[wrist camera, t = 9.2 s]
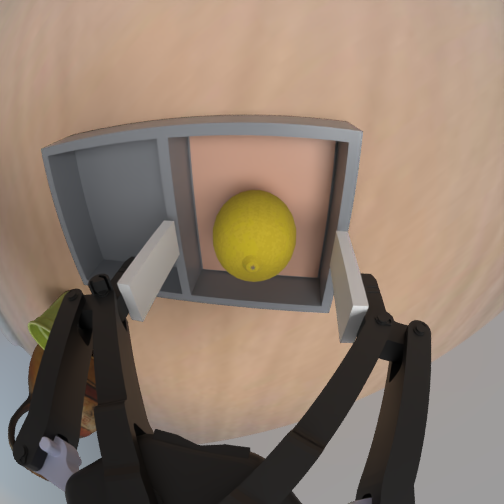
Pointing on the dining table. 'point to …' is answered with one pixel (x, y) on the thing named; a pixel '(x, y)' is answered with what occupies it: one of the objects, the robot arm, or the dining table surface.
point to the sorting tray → (207, 198)
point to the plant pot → (45, 323)
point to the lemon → (254, 235)
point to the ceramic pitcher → (88, 405)
